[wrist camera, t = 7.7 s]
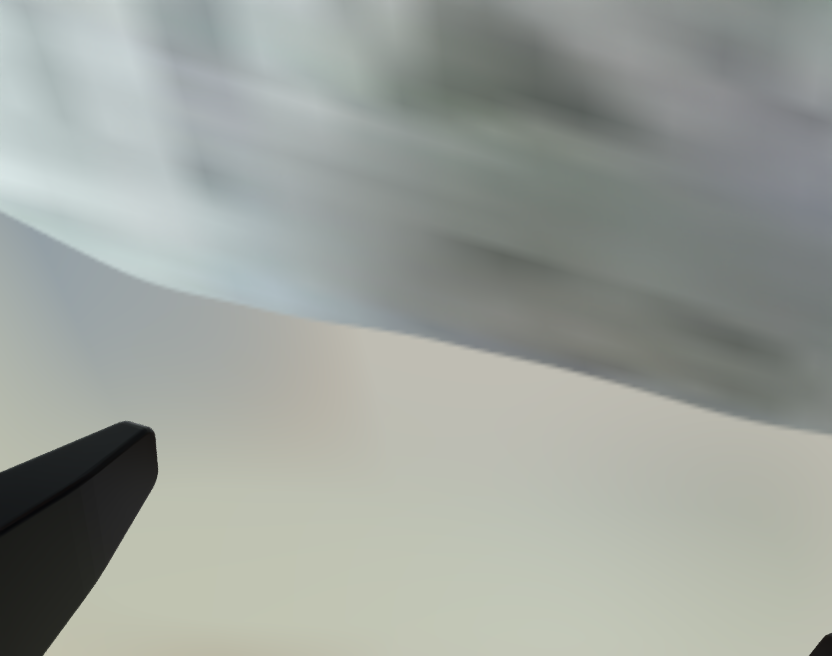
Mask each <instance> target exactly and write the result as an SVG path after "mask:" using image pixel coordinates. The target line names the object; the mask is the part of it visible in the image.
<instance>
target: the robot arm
mask: <svg viewBox="0 0 832 656" xmlns="http://www.w3.org/2000/svg"><path fill="white" fill-rule="evenodd" d="M157 475H158V462H157V451H156V438H155V433H154V431H153V430H152V429H151V428H150V427H147V426H143V425H140V424H137V423H134V422H130V421H123V422H119V423H117V424H114V425H112V426H110V427H107V428H105V429H102V430H100V431H98V432H95V433H93V434H91V435H88V436H86V437H83V438H81V439H79V440H76V441H74V442H72V443H69V444H67V445H64V446H62V447H60V448H57V449H55V450H52V451H50V452H48V453H45V454H43V455H40V456H38V457H36V458H33V459H31V460H29V461H26V462H24V463H21V464H19V465H17V466H14V467H12V468H10V469H7V470H5V471H3V472H0V656H43V655H44V653H45V652H46V651H47V649H48V648H49V647H50V645H51V644H52V643H53V641H54V640H55V639H56V637H57V636H58V635H59V633H60V632H61V630H62V629H63V628H64V626H65V625H66V624H67V622H68V621H69V619H70V618H71V617H72V616H73V614H74V613H75V611H76V610H77V609H78V607H79V606H80V605H81V603H82V602H83V601H84V599H85V598H86V596H87V595H88V594H89V592H90V591H91V589H92V588H93V587H94V585H95V584H96V582H97V581H98V579H99V578H100V576H101V574H102V573H103V571H104V570H105V568H106V566H107V565H108V563H109V561H110V560H111V558H112V556H113V555H114V553H115V551H116V549H117V548H118V546H119V544H120V543H121V541H122V539H123V538H124V535H125V534H126V532H127V531H128V529H129V527H130V526H131V524H132V522H133V521H134V519H135V517H136V516H137V514H138V512H139V510H140V509H141V507H142V505H143V504H144V502H145V500H146V499H147V497H148V495H149V494H150V492H151V490H152V489H153V486H154V485H155V482H156V479H157ZM809 656H832V633H830V634H828V635H826V636H825V637H824V638H823V639H822V640H821V641H820V642H819V644H818V645H817V646H816V648H815V649H814V650H813V651H812V653H811V654H810V655H809Z"/></svg>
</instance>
